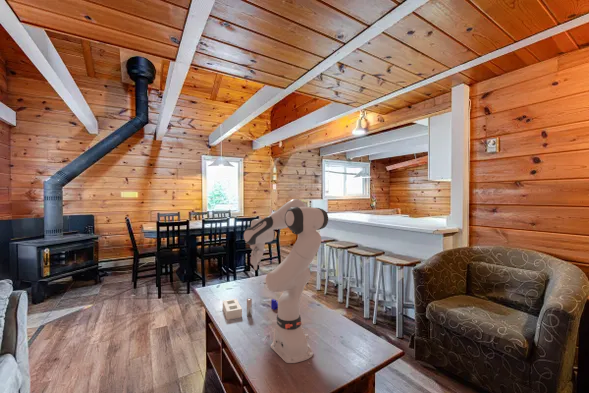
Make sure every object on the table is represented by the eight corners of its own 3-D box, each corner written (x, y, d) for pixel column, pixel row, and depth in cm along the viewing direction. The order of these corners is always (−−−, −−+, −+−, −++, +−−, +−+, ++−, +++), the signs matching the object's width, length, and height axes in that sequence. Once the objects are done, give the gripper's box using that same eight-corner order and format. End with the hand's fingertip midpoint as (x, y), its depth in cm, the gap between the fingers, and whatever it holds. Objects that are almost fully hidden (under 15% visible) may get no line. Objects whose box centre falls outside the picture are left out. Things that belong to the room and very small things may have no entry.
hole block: (241, 316, 156) (242, 308, 156) (226, 319, 152) (226, 311, 152) (236, 306, 170) (236, 298, 170) (222, 308, 167) (222, 300, 166)
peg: (252, 316, 157) (252, 300, 157) (247, 317, 156) (247, 300, 155) (251, 313, 160) (251, 298, 159) (246, 314, 158) (246, 298, 158)
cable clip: (281, 301, 178) (281, 293, 177) (286, 303, 175) (286, 295, 175) (269, 308, 168) (269, 299, 168) (274, 310, 165) (274, 300, 165)
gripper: (259, 249, 146) (258, 273, 147) (265, 241, 167) (265, 262, 167) (248, 248, 147) (247, 272, 147) (255, 241, 167) (255, 262, 168)
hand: (257, 267), depth 157 cm, fingers open, 8 cm apart
